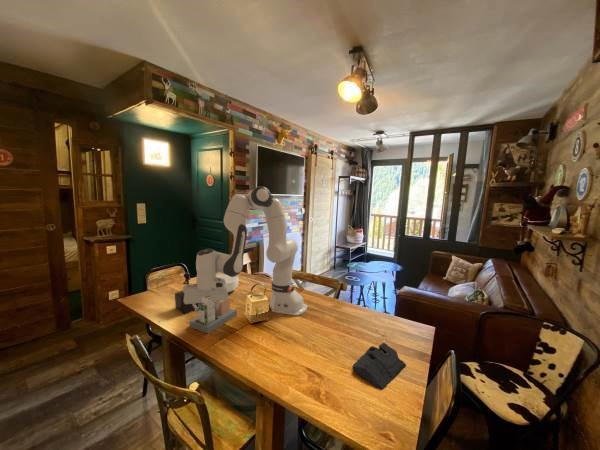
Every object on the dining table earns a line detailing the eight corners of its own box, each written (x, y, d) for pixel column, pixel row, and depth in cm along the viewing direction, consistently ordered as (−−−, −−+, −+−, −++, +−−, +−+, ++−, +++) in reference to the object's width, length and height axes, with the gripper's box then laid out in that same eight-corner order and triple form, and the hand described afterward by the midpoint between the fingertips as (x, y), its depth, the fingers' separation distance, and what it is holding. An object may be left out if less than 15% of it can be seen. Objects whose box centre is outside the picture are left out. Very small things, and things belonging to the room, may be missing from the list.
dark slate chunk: (345, 369, 94) (345, 358, 93) (374, 346, 109) (374, 336, 108) (382, 394, 83) (383, 381, 82) (408, 364, 98) (409, 353, 97)
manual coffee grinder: (203, 307, 139) (202, 277, 137) (184, 314, 130) (183, 282, 128) (189, 299, 148) (188, 271, 146) (170, 305, 139) (169, 275, 137)
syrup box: (198, 323, 119) (197, 295, 117) (208, 318, 124) (207, 291, 122) (205, 327, 116) (205, 298, 114) (215, 321, 121) (215, 294, 119)
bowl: (244, 289, 167) (244, 277, 166) (221, 299, 150) (221, 286, 149) (225, 283, 177) (224, 271, 176) (201, 291, 161) (201, 279, 160)
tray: (219, 310, 136) (219, 293, 135) (236, 315, 131) (236, 297, 130) (189, 327, 118) (189, 307, 117) (208, 333, 113) (207, 313, 112)
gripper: (181, 287, 111) (182, 315, 113) (228, 283, 118) (228, 310, 120) (183, 282, 117) (184, 309, 119) (227, 278, 124) (228, 304, 126)
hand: (206, 309), depth 119 cm, fingers closed on syrup box, 8 cm apart
